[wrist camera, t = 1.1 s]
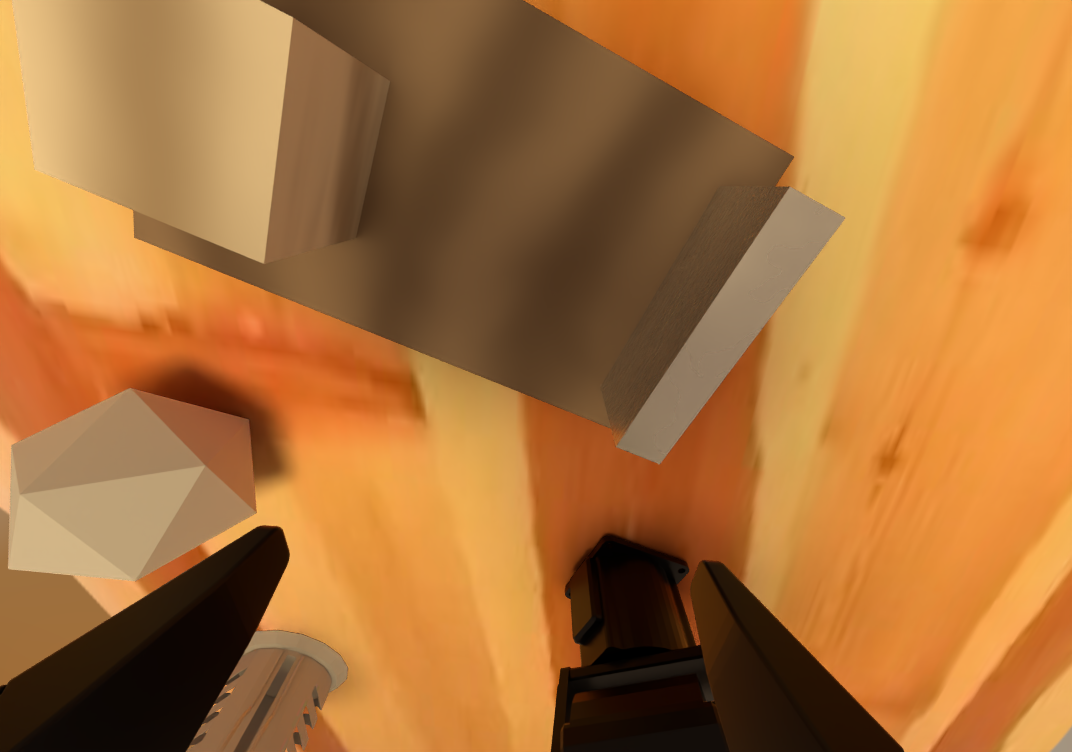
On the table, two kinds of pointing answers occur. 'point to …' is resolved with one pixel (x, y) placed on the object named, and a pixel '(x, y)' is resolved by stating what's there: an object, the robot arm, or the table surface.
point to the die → (127, 487)
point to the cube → (203, 117)
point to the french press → (272, 695)
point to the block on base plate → (547, 217)
